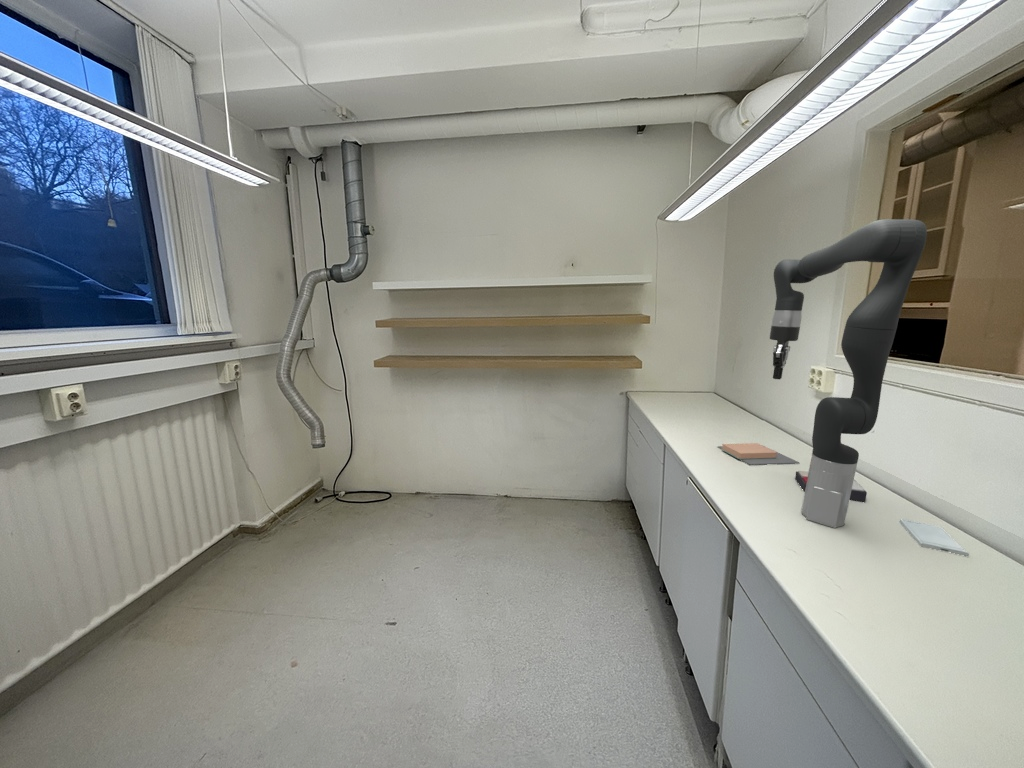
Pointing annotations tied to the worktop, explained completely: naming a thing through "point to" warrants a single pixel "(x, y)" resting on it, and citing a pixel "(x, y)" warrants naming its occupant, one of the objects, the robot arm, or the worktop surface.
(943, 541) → the hard drive
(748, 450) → the tile
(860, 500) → the calculator
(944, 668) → the worktop surface
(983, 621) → the worktop surface
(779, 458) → the mat
